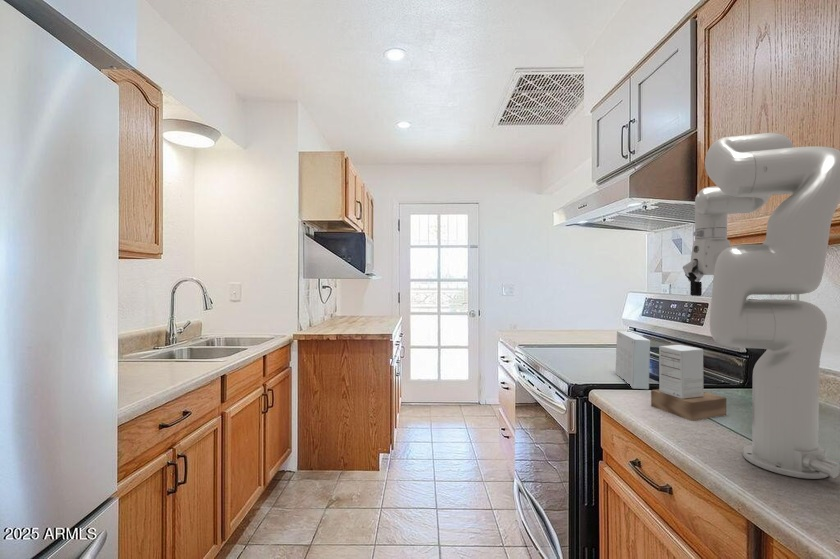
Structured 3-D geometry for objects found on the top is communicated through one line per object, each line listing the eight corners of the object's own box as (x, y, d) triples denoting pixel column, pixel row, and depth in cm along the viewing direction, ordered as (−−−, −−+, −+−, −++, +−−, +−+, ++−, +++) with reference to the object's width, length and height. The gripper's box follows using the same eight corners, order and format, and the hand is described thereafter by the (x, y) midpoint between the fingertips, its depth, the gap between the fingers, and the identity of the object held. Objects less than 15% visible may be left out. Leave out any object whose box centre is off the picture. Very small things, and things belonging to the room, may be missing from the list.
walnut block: (726, 417, 107) (726, 398, 107) (691, 422, 103) (691, 402, 103) (683, 403, 118) (683, 386, 118) (651, 408, 114) (651, 390, 114)
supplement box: (679, 389, 115) (679, 344, 114) (704, 397, 107) (704, 348, 107) (658, 391, 113) (658, 345, 113) (681, 399, 106) (681, 350, 105)
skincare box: (651, 390, 130) (651, 339, 130) (632, 389, 131) (632, 339, 131) (631, 374, 151) (630, 330, 150) (614, 373, 152) (614, 330, 151)
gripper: (695, 234, 112) (695, 296, 113) (748, 234, 116) (748, 295, 116) (673, 236, 120) (673, 295, 120) (724, 237, 123) (724, 294, 123)
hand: (710, 295), depth 118 cm, fingers open, 9 cm apart
